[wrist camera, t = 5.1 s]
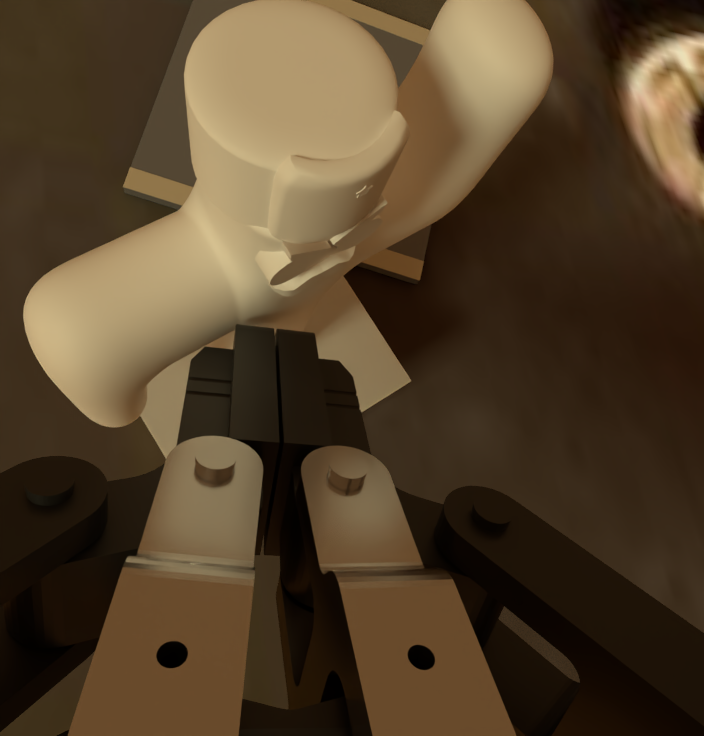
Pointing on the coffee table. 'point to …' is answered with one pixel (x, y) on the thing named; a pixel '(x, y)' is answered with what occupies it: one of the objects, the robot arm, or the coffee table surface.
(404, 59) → the felt mat
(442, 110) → the figurine
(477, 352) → the coffee table surface
